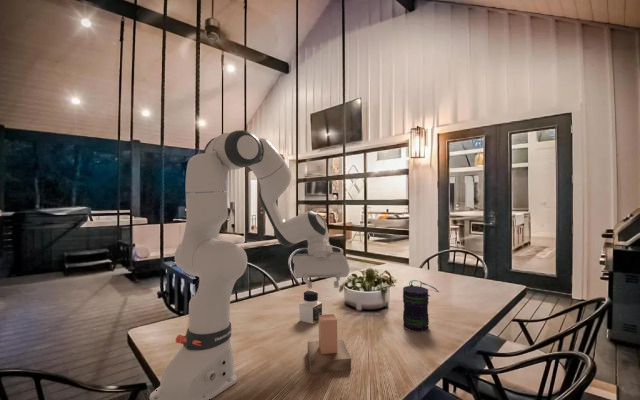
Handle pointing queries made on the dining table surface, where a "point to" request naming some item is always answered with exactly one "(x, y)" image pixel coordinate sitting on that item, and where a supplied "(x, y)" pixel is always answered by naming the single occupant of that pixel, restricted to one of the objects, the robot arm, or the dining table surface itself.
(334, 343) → the terracotta block
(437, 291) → the sunglasses
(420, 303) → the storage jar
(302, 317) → the medicine bottle
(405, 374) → the dining table surface
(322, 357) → the walnut block
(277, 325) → the dining table surface
